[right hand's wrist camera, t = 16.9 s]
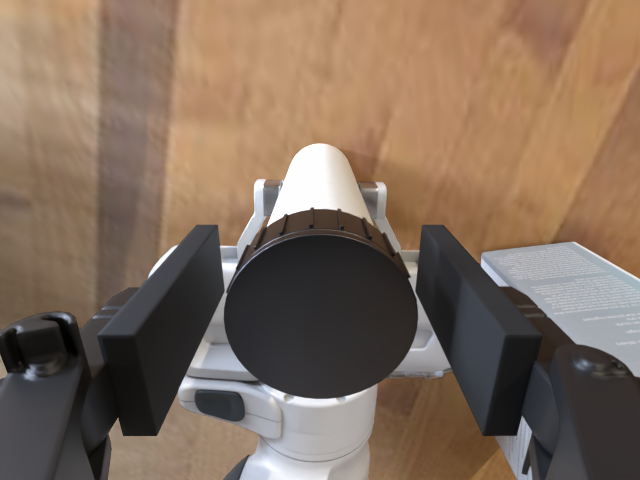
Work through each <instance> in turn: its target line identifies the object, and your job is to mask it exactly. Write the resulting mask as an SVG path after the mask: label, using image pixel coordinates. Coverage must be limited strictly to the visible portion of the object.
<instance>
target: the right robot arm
mask: <svg viewBox="0 0 640 480" xmlns="http://www.w3.org/2000/svg"><path fill="white" fill-rule="evenodd" d="M224 292H225V288H224V279H223V270H222V260H221V251H220V242H219V232H218V225H196V226H195V227H194V228H193V230H192V231H191V232H190V233H189V234H188V235H187V236H186V237H185V238H184V239H183V241H182V242H181V243H180V244H179V245H178V246H177V247H176V248H175V249H174V250H173V252H172V253H171V254H170V255H169V256H168V257H167V258H166V259H165V260H164V262H163V263H162V264H161V265H160V266H159V267H158V268H157V269H156V270H155V271H154V273H153V274H152V275H151V276H150V277H149V278H148V279H147V280H146V281H145V283H144V284H143V285H142V286H141V287H140V288H128V289H126V290H124V291H122V292H120V293H119V294H117V295H115V296H113V297H112V298H111V299H110V300H109V301H108V302H107V303H106V304H105V305H104V306H103V307H102V310H99V311H98V312H97V313H96V314H95V315H94V316H93V319H90V320H89V321H88V322H87V323H86V324H85V325H84V326H83V327H82V328H81V329H80V330H79V328H78V325H77V321H76V318H75V316H73V315H72V314H70V313H67V312H60V311H57V312H46V313H41V314H37V315H33V316H30V317H27V318H25V319H22V320H20V321H17V322H15V323H13V324H11V325H10V326H8V327H6V328H5V329H3V330H2V331H1V332H0V354H1V357H2V360H3V362H4V365H5V367H6V370H7V373H8V374H7V376H6V377H5V378H3V379H0V480H108V473H109V465H110V458H111V450H112V448H111V442H110V438H109V434H108V433H109V431H110V429H111V428H112V426H113V425H114V423H115V421H116V420H117V418H119V422H120V425H121V429H122V433H123V436H157V434H158V432H159V430H160V428H161V426H162V424H163V422H164V420H165V417H166V415H167V413H168V411H169V409H170V407H171V405H172V403H173V400H174V398H175V396H176V394H177V392H178V390H179V388H180V385H181V383H182V381H183V379H184V377H185V375H186V373H187V371H188V368H189V366H190V364H191V362H192V360H193V358H194V356H195V354H196V351H197V349H198V347H199V345H200V343H201V341H202V339H203V337H204V334H205V332H206V330H207V328H208V326H209V324H210V322H211V320H212V317H213V315H214V313H215V311H216V309H217V307H218V305H219V303H220V300H221V298H222V296H223V294H224ZM415 292H416V294H417V296H418V298H419V300H420V303H421V305H422V307H423V309H424V311H425V313H426V315H427V317H428V320H429V322H430V324H431V326H432V328H433V330H434V332H435V334H436V337H437V339H438V341H439V343H440V345H441V347H442V349H443V351H444V354H445V356H446V358H447V360H448V362H449V364H450V366H451V368H452V371H453V373H454V375H455V377H456V379H457V381H458V383H459V385H460V388H461V390H462V392H463V394H464V396H465V398H466V400H467V403H468V405H469V407H470V409H471V411H472V413H473V415H474V417H475V420H476V422H477V424H478V426H479V428H480V430H481V432H482V434H483V436H517V433H518V429H519V425H520V422H521V418H522V416H523V418H524V419H525V421H526V423H527V424H528V426H529V427H530V429H531V431H532V434H531V438H530V441H529V445H528V449H527V452H526V456H525V459H524V463H523V467H522V473H521V474H524V475H527V474H528V470H529V467H530V466H531V472H532V480H640V377H636V376H634V375H633V373H632V372H631V371H630V369H629V368H628V367H627V366H626V365H625V364H624V363H623V362H622V361H620V360H619V359H617V358H616V357H614V356H613V355H611V354H608V353H606V352H604V351H602V350H600V349H597V348H593V347H590V346H586V345H580V344H576V343H575V342H574V341H573V340H572V339H571V338H570V337H569V336H568V335H567V334H566V333H565V332H564V331H563V330H562V329H561V328H560V327H559V326H558V325H557V324H556V323H555V322H554V321H553V320H552V319H551V318H550V317H547V314H546V313H545V312H544V311H543V310H542V309H541V308H538V305H537V304H536V303H535V302H534V301H533V300H532V299H531V298H530V297H529V296H528V295H526V294H524V293H522V292H520V291H519V290H517V289H515V288H513V287H511V286H498V285H497V284H496V283H495V281H494V280H493V279H492V278H491V277H490V276H489V275H488V274H487V273H486V271H485V270H484V269H483V268H482V267H481V266H480V265H479V264H478V263H477V262H476V260H475V259H474V258H473V257H472V256H471V255H470V254H469V253H468V252H467V250H466V249H465V248H464V247H463V246H462V245H461V244H460V243H459V242H458V241H457V239H456V238H455V237H454V236H453V235H452V234H451V233H450V232H449V231H448V230H447V228H446V227H445V226H444V225H422V232H421V242H420V251H419V260H418V270H417V279H416V288H415Z"/></svg>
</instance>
